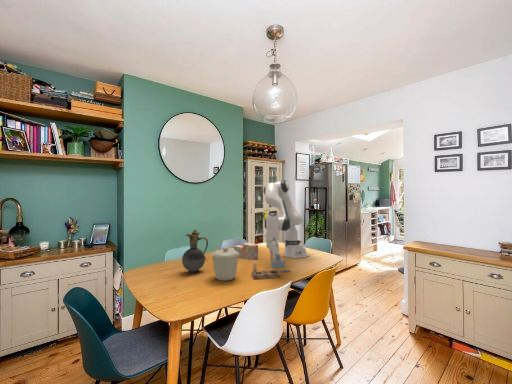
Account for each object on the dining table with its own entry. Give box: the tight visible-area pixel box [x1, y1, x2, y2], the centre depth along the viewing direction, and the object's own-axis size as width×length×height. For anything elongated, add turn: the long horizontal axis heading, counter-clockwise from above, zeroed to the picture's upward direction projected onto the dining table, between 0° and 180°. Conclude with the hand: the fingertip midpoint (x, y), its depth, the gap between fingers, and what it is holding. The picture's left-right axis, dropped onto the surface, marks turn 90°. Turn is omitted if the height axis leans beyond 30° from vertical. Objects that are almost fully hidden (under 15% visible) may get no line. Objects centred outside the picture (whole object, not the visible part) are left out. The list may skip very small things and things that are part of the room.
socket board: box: [251, 269, 281, 280], centre depth 165 cm, size 18×8×2 cm, turn 101°
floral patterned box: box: [233, 242, 259, 261], centre depth 212 cm, size 21×6×12 cm, turn 57°
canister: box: [211, 246, 239, 282], centre depth 162 cm, size 18×18×21 cm
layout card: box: [279, 268, 291, 273], centre depth 175 cm, size 7×3×1 cm, turn 101°
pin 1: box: [252, 260, 258, 272], centre depth 177 cm, size 3×3×7 cm
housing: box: [270, 253, 286, 269], centre depth 186 cm, size 10×5×10 cm, turn 101°
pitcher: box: [181, 229, 209, 275], centre depth 175 cm, size 11×19×30 cm, turn 126°
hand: (272, 257), depth 166 cm, fingers closed on pin 2, 3 cm apart
